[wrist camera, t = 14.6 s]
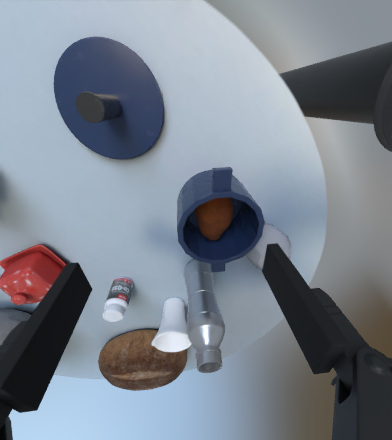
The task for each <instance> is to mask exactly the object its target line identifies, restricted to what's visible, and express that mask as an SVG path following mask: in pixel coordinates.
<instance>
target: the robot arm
mask: <svg viewBox="0 0 392 440" xmlns="http://www.w3.org/2000/svg"><path fill="white" fill-rule="evenodd" d="M262 272H263V274H264V276H265V278H266V280H267V282H268V284H269V286H270V288H271V290H272V292H273V294H274V296H275V298H276V300H277V302H278V304H279V306H280V308H281V310H282V312H283V314H284V316H285V318H286V320H287V322H288V324H289V326H290V328H291V330H292V331H293V334H294V336H295V338H296V340H297V342H298V344H299V346H300V348H301V350H302V351H303V353H304V356H305V358H306V360H307V361H308V363H309V366H310V368H311V369H312V371H313V373H314V374H319V373H327V372H330V370H331V369H332V368H334V369H335V371H336V373H337V376H336V377H335V378H334V379H333V380H332V383H331V385H333V386H334V385H335V384H336V389H335V390H336V391H335V403H334V417H333V431H332V440H392V359H390V358H387V357H386V356H385V355H384V354H382V353H381V352H379V351H377V350H376V349H373V348H371V347H370V346H369V345H368V344H367V343H366V342H365V341H364V339H363V338H362V337H361V335H360V334H359V333H358V332H357V330H356V329H355V328H354V327H353V325H352V324H351V323H350V322H349V320H348V319H347V318H346V316H345V315H344V314H343V313H342V311H341V310H340V309H339V308H338V306H336V304H335V302H334V301H333V300H332V299H331V297H329V295H327V294H326V293H325V292H324V291H322V290H321V289H320V288H314V289H310V287H309V286H308V285H307V283H306V282H305V280H304V279H303V278H302V276H301V275H300V273H299V272H298V271H297V269H296V268H295V266H294V265H293V264H292V262H291V261H290V260H289V258H288V257H287V255H286V254H285V253H284V251H283V250H282V248H281V247H280V246H279V244H278V243H275V244H267V248H266V253H265V259H264V264H263V269H262ZM91 291H92V288H91V286H90V284H89V282H88V280H87V278H86V276H85V274H84V273H83V271H82V269H81V267H80V265H79V263H70V264H66V266H65V267H64V268H63V270H62V271H61V273H60V274H59V276H58V277H57V279H56V280H55V282H54V283H53V285H52V286H51V287H50V289H49V290H48V292H47V293H46V295H45V296H44V298H43V299H42V301H41V302H40V303H39V305H38V306H37V308H36V309H35V311H34V312H33V314H32V315H31V317H30V318H29V320H27V321H21V322H20V323H19V324H18V325H17V326H16V327H15V328H14V329H13V330H11V331H10V333H9V334H8V336H7V337H6V338H5V340H4V341H3V342H2V343H3V344H2V345H0V440H13V438H12V428H11V420H10V418H9V417H8V416H9V414H10V412H11V410H12V409H14V410H16V411H18V412H20V413H21V412H28V411H35V410H37V409H38V407H39V405H40V403H41V401H42V399H43V396H44V394H45V392H46V390H47V387H48V385H49V383H50V381H51V379H52V377H53V374H54V372H55V370H56V368H57V366H58V363H59V361H60V359H61V357H62V355H63V352H64V350H65V348H66V346H67V344H68V341H69V339H70V337H71V335H72V333H73V330H74V328H75V326H76V324H77V322H78V319H79V317H80V315H81V313H82V311H83V308H84V306H85V304H86V302H87V300H88V297H89V295H90V293H91Z"/></svg>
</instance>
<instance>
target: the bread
mask: <svg viewBox="0 0 392 440" xmlns="http://www.w3.org/2000/svg"><path fill="white" fill-rule="evenodd" d="M157 332H158V331H157V330H147V329H145V330H136V331H131V332H128V333H124V334H122V335H119V336H117V337H115V338H114V339H112V340H110V341H109V342H108V343H107V344H106V345H105V346H104V347H103V349H102V350H101V352H100V355H99V361H98V363H99V368H100V371H101V373H102V375H103V376H104V377H105V378H106V379H107V380H108V381H109V382H110V383H111V384H112V385H114V386H116V387H119V388H122V389H127V390H135V391H136V390H148V389H154V388H157V387H161V386H164V385H167V384H169V383H171V382H172V381H173V380H175V379H176V378H177V377H178V376H179V375H180V374H181V373H182V371H183V369H184V368H185V365H186V362H187V352H186V349H185V350H182V351H179V352H164V351H161V350H158V349H157V348H156V347H155V346H152V344H151V343H152V341H153V339H154V338H155V336H156V334H157Z"/></svg>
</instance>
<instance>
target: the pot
mask: <svg viewBox="0 0 392 440" xmlns="http://www.w3.org/2000/svg"><path fill="white" fill-rule="evenodd" d="M229 197H230V198H231V201H232V203H233V220H232V222H231V224H230V225H229V227H228V228H227V229H226V230H225V231H224V232H223V234H222V235H221V236H220V238H219V239H217V240H210V239H208V238H206V237H205V236H204V235H203V234H202V233H201V232H200V229H199V226H198V223H197V219H196V215H195V209H196V208H197V207H198V206H199V205H201V204H203V203H205V202H208V201H210V200H212V199H214V198H229ZM264 222H265V221H264V218H263V215H262V211H261V208H260V207H259V206H258V204H257V203H256V202H255V201H254V199H253V198H252V197H251V195H250V194H249V193H248V191H247V190H246V189H245V188H244V186H243V185H242V184H241V183H240V182H239V181H238V180H237V179H236V178H235V177H234V176H233V175H232V168H231V167H227V168H212V170H209V171H204V172H201V173H198V174H197V175H195V176H193V177H192V178H190V179H189V180H188V181H187V182H186V183H185V185H184V186H183V188H182V189H181V191H180V194H179V198H178V208H177V232H178V242H179V243H180V245H181V246H182V248H183V249H184V251H185V253H186V254H188V255H189V256H191V257H192V258H194V259H196V260H197V261H200V262H205V263H209V264H211V272H222V271H225V264H226V263H228V262H231V261H233V260H236V259H239V258H241V257H243V256H244V255H246V254H247V253H248V252H250V251H251V250H252V249H253V248H254V247H255V246H256V244H257V243H258V241H259V240H260V238H261V237H262V233H263V228H264Z"/></svg>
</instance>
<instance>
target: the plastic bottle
mask: <svg viewBox="0 0 392 440" xmlns="http://www.w3.org/2000/svg"><path fill="white" fill-rule="evenodd" d="M184 278H185V283H186V286H187V293H188V317H187V331H186V332H187V335H188V338H189V340H190V342H191V343H192V345H193V346H194V347H195V349H196V350H197V353H196V360H197V369H198V371H199V372H202V373H211V372H215V371H218V370H219V369H221V367H222V359H221V350H220V349H219V346H220V344H221V342H222V339H223V336H224V333H225V324H224V321H223V318H222V315H221V313H220V310H219V307H218V304H217V300H216V296H215V292H214V282H213V280H214V272H211V264H209V263H205V262H200V261H197V260H196V259H194V260H192V261H190V262H189V263H188V264H187V265H186V267H185V271H184Z"/></svg>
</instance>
